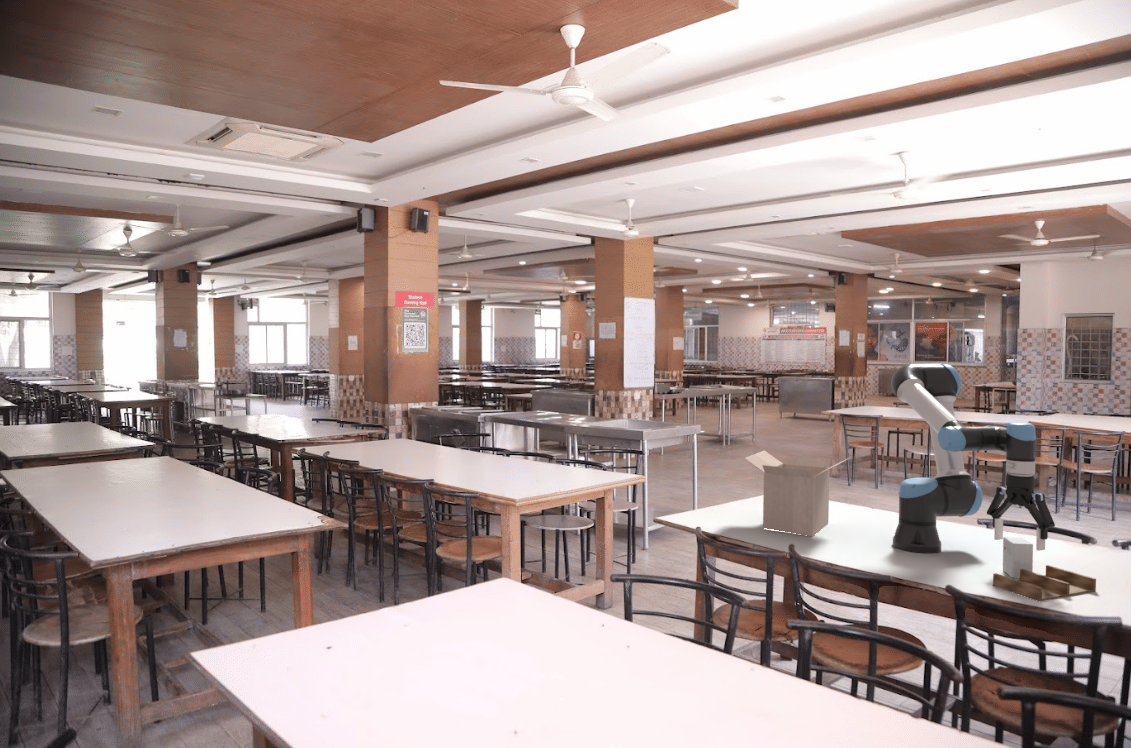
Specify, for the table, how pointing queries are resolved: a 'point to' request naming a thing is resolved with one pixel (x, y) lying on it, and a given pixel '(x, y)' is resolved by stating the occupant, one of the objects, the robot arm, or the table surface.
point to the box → (794, 492)
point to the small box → (1017, 556)
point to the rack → (1046, 584)
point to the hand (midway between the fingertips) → (1019, 544)
